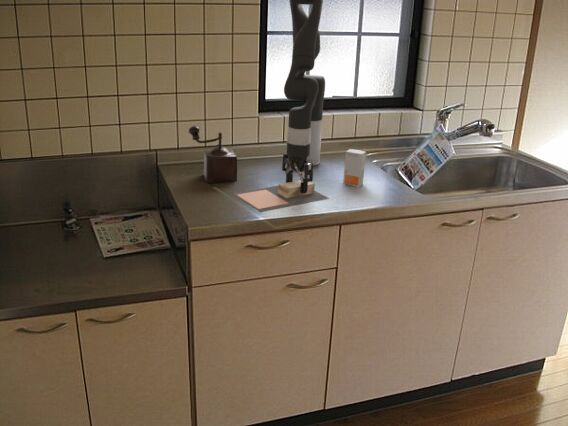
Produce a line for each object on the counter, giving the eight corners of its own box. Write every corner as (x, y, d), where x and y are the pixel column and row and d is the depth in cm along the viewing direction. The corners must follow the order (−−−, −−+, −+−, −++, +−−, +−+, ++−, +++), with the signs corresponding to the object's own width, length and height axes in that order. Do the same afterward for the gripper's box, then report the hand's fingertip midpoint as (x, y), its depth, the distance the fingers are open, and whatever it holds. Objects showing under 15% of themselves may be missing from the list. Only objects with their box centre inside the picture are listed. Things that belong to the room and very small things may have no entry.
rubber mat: (232, 195, 196) (232, 193, 196) (298, 183, 209) (298, 181, 209) (260, 213, 182) (260, 211, 182) (329, 200, 196) (329, 197, 195)
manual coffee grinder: (231, 172, 218) (232, 123, 211) (237, 182, 208) (238, 131, 201) (188, 174, 214) (187, 124, 207) (192, 184, 204) (191, 132, 197)
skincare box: (342, 184, 211) (345, 151, 206) (347, 181, 214) (350, 148, 210) (358, 187, 208) (362, 154, 204) (363, 184, 212) (366, 151, 207)
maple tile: (286, 198, 194) (286, 188, 193) (278, 193, 198) (278, 184, 197) (314, 192, 200) (314, 183, 198) (305, 188, 203) (306, 179, 202)
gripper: (276, 136, 196) (275, 184, 202) (301, 147, 185) (298, 197, 190) (296, 134, 199) (293, 181, 205) (321, 145, 188) (318, 193, 194)
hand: (296, 189), depth 198 cm, fingers open, 8 cm apart
